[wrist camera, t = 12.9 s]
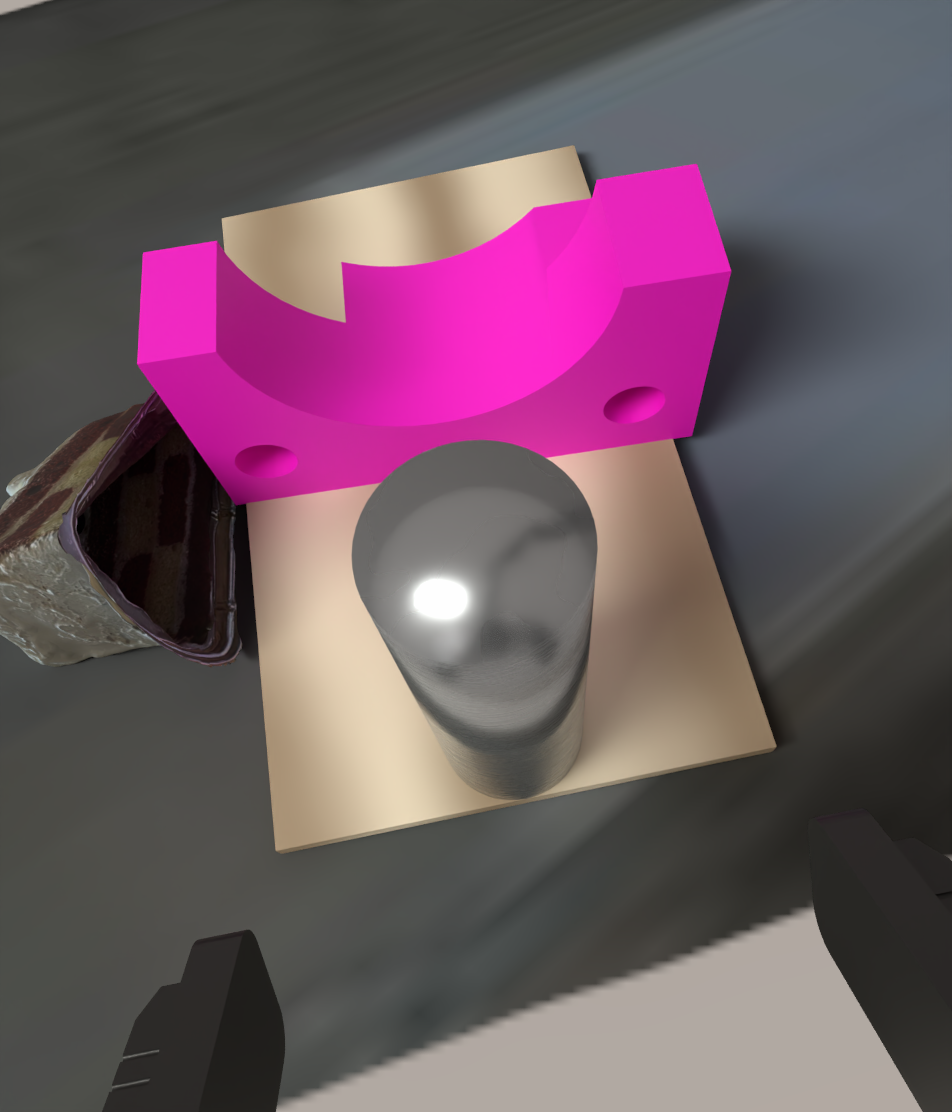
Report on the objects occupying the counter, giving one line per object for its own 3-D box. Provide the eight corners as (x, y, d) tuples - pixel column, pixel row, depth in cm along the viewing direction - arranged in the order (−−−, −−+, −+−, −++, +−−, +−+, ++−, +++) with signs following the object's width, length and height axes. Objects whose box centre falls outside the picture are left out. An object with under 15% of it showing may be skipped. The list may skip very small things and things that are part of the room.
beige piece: (573, 158, 35) (578, -230, 24) (771, 751, 25) (947, 566, 14) (227, 230, 35) (67, -123, 24) (281, 853, 25) (47, 754, 14)
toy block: (652, 287, 32) (676, 100, 25) (692, 436, 29) (731, 270, 22) (234, 353, 32) (146, 186, 25) (235, 505, 29) (137, 364, 22)
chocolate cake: (65, 387, 34) (-227, 474, 23) (222, 326, 32) (-15, 390, 21) (173, 611, 36) (-42, 785, 25) (324, 569, 34) (162, 739, 23)
